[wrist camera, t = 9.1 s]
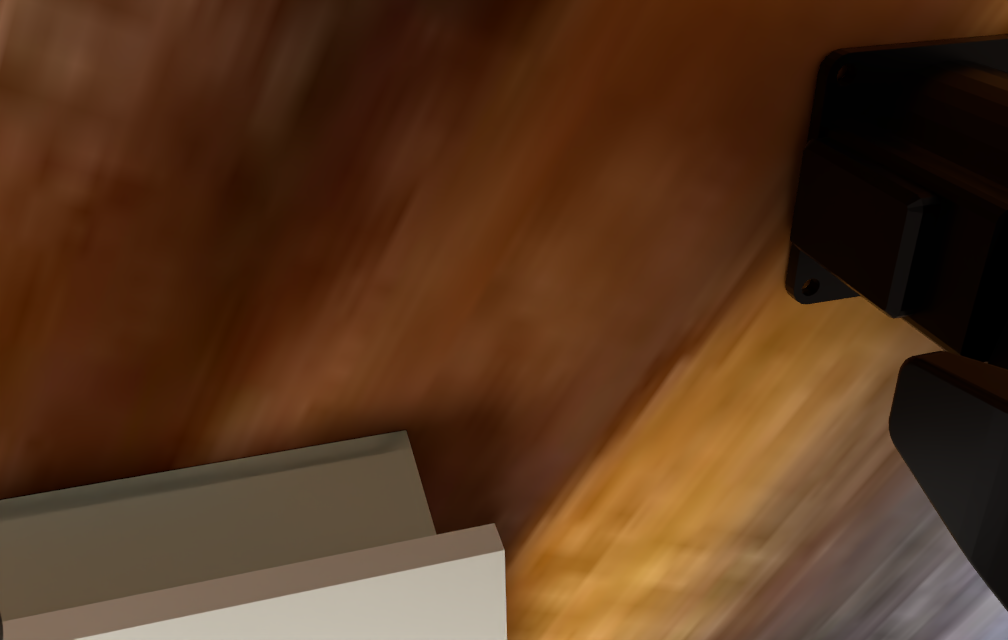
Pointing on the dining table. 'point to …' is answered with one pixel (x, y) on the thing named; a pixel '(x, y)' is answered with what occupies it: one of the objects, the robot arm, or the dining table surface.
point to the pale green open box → (207, 523)
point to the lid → (314, 599)
